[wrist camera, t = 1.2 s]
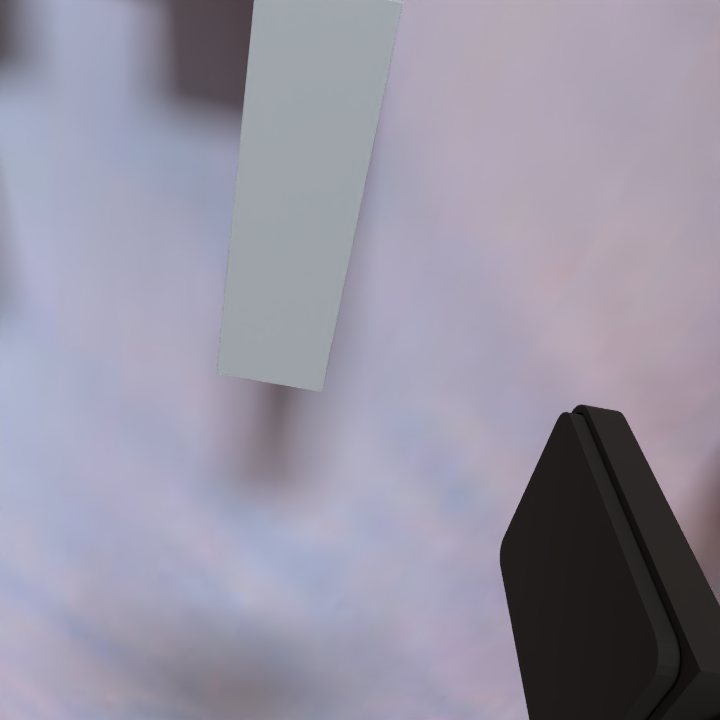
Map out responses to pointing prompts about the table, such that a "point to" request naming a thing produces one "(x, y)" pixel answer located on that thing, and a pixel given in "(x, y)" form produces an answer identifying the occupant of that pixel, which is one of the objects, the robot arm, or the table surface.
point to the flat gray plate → (301, 181)
